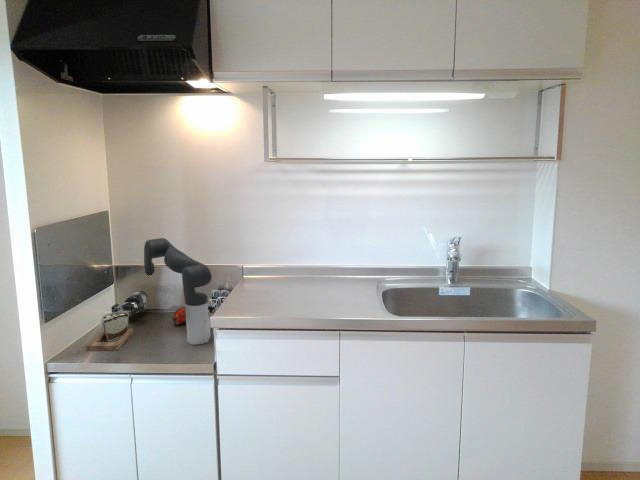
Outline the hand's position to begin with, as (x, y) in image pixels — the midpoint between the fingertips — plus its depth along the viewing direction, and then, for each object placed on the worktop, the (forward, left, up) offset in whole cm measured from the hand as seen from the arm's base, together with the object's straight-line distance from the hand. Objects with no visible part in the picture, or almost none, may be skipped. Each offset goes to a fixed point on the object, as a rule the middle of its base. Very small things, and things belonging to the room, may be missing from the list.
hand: (122, 313), depth 201 cm
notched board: (0, +14, -8) cm, 16 cm away
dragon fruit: (-25, -6, -8) cm, 27 cm away
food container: (+1, +8, -8) cm, 11 cm away
